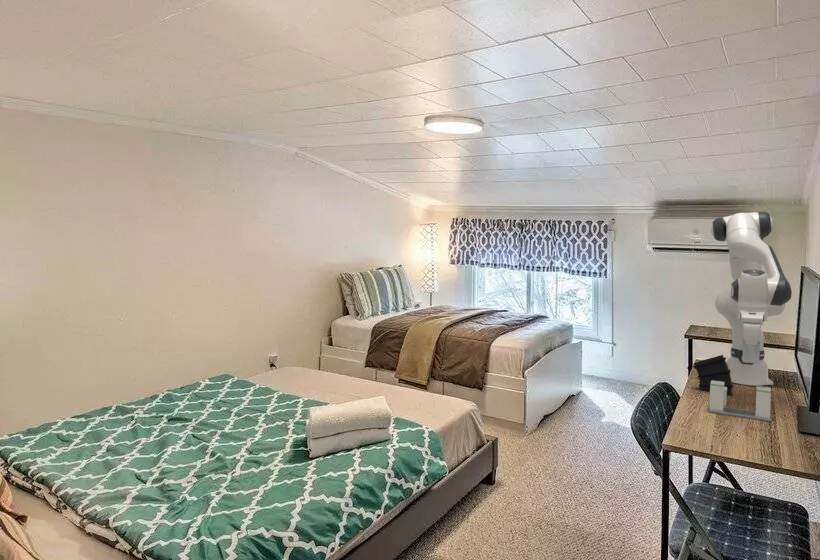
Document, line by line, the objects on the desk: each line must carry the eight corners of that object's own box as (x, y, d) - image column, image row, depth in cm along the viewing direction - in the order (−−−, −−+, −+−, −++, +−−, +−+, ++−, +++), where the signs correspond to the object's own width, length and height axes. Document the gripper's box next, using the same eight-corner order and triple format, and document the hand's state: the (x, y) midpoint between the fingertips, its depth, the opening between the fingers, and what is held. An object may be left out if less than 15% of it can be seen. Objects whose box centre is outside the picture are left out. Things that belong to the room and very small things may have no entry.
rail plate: (707, 412, 180) (707, 409, 180) (709, 406, 186) (709, 404, 186) (771, 422, 170) (771, 419, 170) (771, 416, 176) (771, 413, 176)
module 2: (742, 362, 184) (743, 341, 184) (742, 360, 188) (743, 339, 187) (759, 363, 182) (759, 342, 181) (759, 361, 185) (759, 341, 185)
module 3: (755, 417, 173) (756, 389, 173) (755, 413, 177) (756, 386, 177) (769, 419, 171) (771, 391, 170) (769, 415, 175) (770, 387, 174)
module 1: (709, 410, 181) (710, 383, 180) (710, 406, 185) (711, 380, 184) (722, 412, 179) (723, 385, 178) (723, 408, 183) (724, 381, 182)
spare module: (710, 403, 190) (710, 387, 189) (710, 400, 193) (711, 385, 193) (725, 406, 187) (726, 389, 187) (726, 403, 190) (727, 387, 190)
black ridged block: (740, 392, 197) (722, 355, 200) (704, 401, 205) (687, 365, 209) (741, 390, 200) (723, 354, 203) (706, 399, 208) (690, 363, 211)
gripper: (742, 311, 194) (741, 347, 195) (741, 317, 177) (739, 357, 178) (762, 312, 190) (761, 349, 191) (763, 319, 174) (761, 359, 174)
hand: (750, 353), depth 185 cm, fingers closed on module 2, 4 cm apart
